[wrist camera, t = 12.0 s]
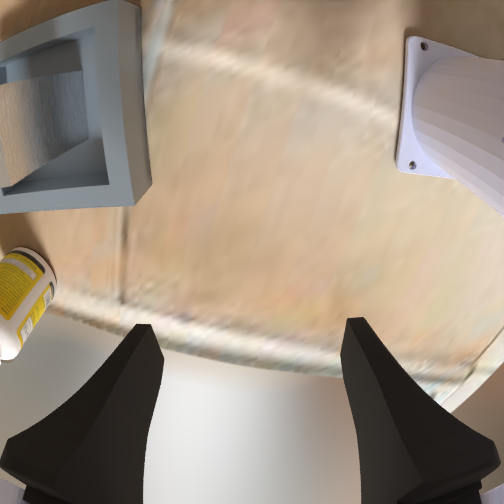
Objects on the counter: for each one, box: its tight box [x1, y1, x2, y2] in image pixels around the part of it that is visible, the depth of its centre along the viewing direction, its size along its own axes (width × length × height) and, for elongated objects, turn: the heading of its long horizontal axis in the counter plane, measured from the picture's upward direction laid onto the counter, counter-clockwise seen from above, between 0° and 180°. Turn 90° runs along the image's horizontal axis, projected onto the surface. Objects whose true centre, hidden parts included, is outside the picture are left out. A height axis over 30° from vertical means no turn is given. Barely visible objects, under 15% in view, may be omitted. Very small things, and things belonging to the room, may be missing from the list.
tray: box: [0, 0, 152, 214], centre depth 14 cm, size 10×10×3 cm
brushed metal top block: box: [0, 71, 90, 188], centre depth 11 cm, size 4×4×7 cm
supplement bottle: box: [0, 247, 57, 364], centre depth 17 cm, size 5×5×10 cm
